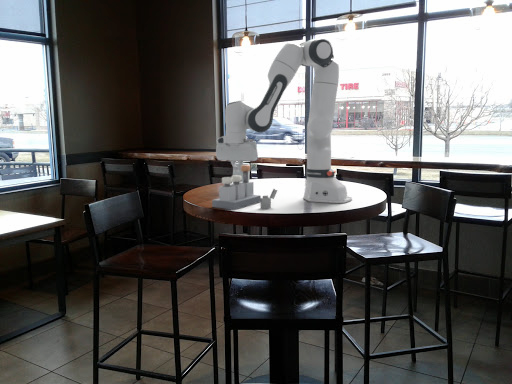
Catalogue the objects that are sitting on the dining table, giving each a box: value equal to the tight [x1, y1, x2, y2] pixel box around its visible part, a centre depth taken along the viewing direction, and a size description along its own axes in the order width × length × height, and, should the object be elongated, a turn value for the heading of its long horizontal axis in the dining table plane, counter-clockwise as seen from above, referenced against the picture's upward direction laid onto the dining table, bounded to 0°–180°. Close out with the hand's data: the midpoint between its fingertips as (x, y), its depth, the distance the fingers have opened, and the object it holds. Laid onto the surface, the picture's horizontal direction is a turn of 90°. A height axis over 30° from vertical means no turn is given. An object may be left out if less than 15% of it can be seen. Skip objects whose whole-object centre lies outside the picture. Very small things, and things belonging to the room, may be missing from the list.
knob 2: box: [241, 164, 251, 183], centre depth 201 cm, size 4×4×9 cm
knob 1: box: [221, 176, 233, 187], centre depth 190 cm, size 4×4×9 cm
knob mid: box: [231, 174, 242, 185], centre depth 196 cm, size 4×4×9 cm
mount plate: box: [211, 181, 262, 211], centre depth 196 cm, size 12×20×9 cm, turn 147°
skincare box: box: [232, 162, 251, 184], centre depth 233 cm, size 8×6×15 cm
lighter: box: [260, 188, 278, 209], centre depth 188 cm, size 7×2×8 cm, turn 105°
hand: (237, 170), depth 195 cm, fingers closed
